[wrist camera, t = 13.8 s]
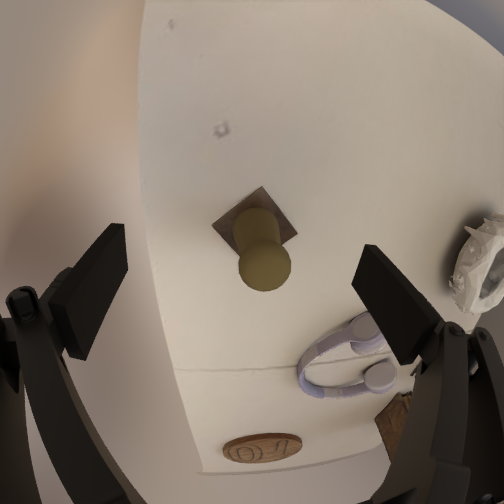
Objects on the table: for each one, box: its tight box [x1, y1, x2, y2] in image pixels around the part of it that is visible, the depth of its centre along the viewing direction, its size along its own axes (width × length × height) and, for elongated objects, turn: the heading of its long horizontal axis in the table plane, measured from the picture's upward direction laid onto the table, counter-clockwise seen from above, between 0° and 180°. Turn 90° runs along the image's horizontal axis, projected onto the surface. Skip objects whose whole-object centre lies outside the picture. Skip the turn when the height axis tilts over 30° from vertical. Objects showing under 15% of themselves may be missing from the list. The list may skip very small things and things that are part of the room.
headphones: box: [297, 313, 397, 399], centre depth 47 cm, size 22×7×20 cm
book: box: [375, 391, 412, 462], centre depth 55 cm, size 17×7×25 cm, turn 162°
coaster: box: [212, 187, 298, 256], centre depth 35 cm, size 8×8×1 cm
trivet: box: [223, 433, 302, 463], centre depth 68 cm, size 25×25×2 cm
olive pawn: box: [232, 207, 291, 292], centre depth 30 cm, size 6×6×11 cm
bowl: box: [449, 213, 504, 316], centre depth 37 cm, size 21×20×10 cm
